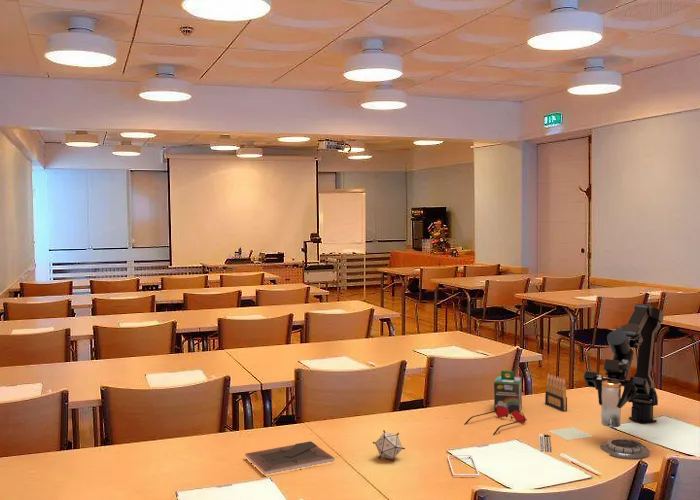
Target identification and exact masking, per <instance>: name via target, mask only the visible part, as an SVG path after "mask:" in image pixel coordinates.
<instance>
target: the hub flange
mask: <svg viewBox="0 0 700 500" xmlns="http://www.w3.org/2000/svg"><path fill="white" fill-rule="evenodd" d="M599 448H600V450H601V451H603V452H604V453H606V454H608V456H610V457H613V458H618V459H623V460H642V459H646V458H648V457H649V456H650V454H651V451H650V449H649V448H648V447H646V446H645V445H643V444H642V443H641V442H640V441H638V440H635V439H631V438H630V439H629V438H626V437H624V438H623V437H622V438H621V437H615V438H609V439H608V440H607V441H605V442H602V443H600V445H599Z"/></svg>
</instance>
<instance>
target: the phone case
mask: <svg viewBox="0 0 700 500" xmlns="http://www.w3.org/2000/svg"><path fill="white" fill-rule="evenodd" d="M457 456H470V457H472V459H473V462H474V464H473V466H474V465H475V467H476V469H475V471H477V472H476V473H469V474H468V473H462V474H461V473H454V470H453V467H452V464H451V461H450V458H449V457H452V458H454V457H457ZM472 459H471V460H472ZM448 461H449V463H448V466H449V465H450V466H449V469H450V468H451V469H450V471H451V476H452V475H453V476H465V477H466V476H472V477H473V476H474V477H478V476H479V477H480V472H479V469H478V467H477V464H476V463H475V459H474V457H473V456H472V455H468V454H467V455H466V454H465V455H464V454H463V455H461V454H459V455H452V454H451V455H447V462H448ZM473 462H472V463H473ZM475 467H474V468H475ZM477 473H478V474H477ZM453 476H452V477H453Z"/></svg>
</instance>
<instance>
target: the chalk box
mask: <svg viewBox="0 0 700 500" xmlns="http://www.w3.org/2000/svg"><path fill="white" fill-rule="evenodd" d="M506 374H508V375H510V376H506ZM522 393H523V392H522V377H521V376H515V371H513V370H501V371H500V376H499V375H497V376H496V377H495V380H494V382H493V400H494V401H493V402H494V403H493V404H494V405H493V406H494V409H493V411H496V410H497V408H496V407H497V405H498V406H503V407H507V408H509V412H508V414H511V413H512V412H513V411H514V410H517V411H519V413H520V412H521V410H522V408H523V400H522V399H523V398H522V397H523V395H522ZM510 409H512V410H510ZM520 414H521V413H520Z"/></svg>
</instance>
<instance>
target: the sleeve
mask: <svg viewBox="0 0 700 500" xmlns="http://www.w3.org/2000/svg"><path fill="white" fill-rule="evenodd" d="M621 389H622V386H621V383H620V382H618V381H613V380H604V381H602V400H601V405H600V407H601V410H600V411H601V415H600V416H601V417H600V419H601V420H600V423H601V424H600V425H602V426H604V427H608V428H618V427H619V428H620V427H621V419H622V417H621V412H622V411H621V410H622V408H621V409H620V408H619V402H620V399H621V397H622V390H621Z"/></svg>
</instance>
